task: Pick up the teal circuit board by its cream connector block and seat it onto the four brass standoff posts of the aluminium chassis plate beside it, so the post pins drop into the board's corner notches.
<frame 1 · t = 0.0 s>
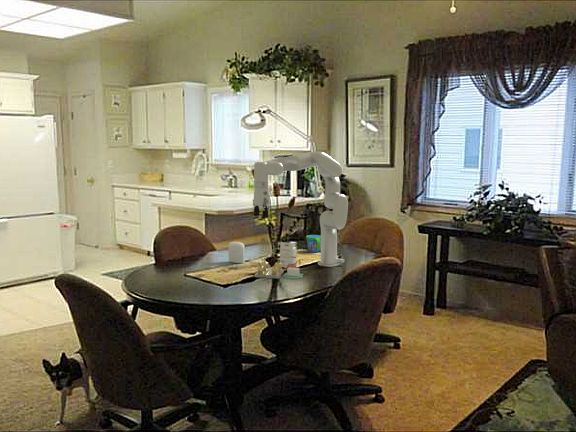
hand: (260, 216, 302), 31 cm above the table, tool pointing down, fingers open, 9 cm apart
ink cartridge box: (288, 267, 321), on the table
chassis: (269, 274, 304), on the table
snack cup: (313, 251, 367), on the table
circuit board: (293, 276, 302), on the table
photo printer: (236, 262, 332), on the table
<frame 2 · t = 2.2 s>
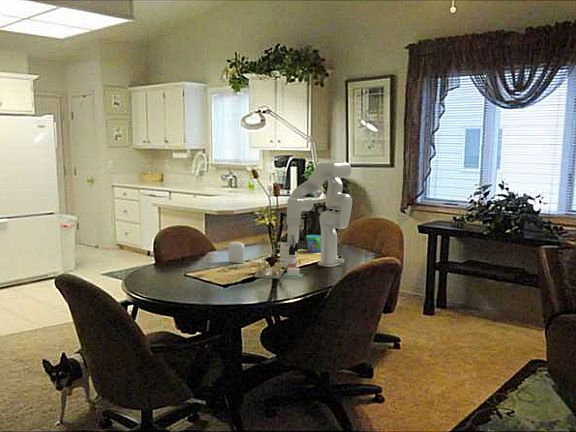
hand: (293, 253, 300), 12 cm above the table, tool pointing down, fingers open, 9 cm apart
nothing on the table moved.
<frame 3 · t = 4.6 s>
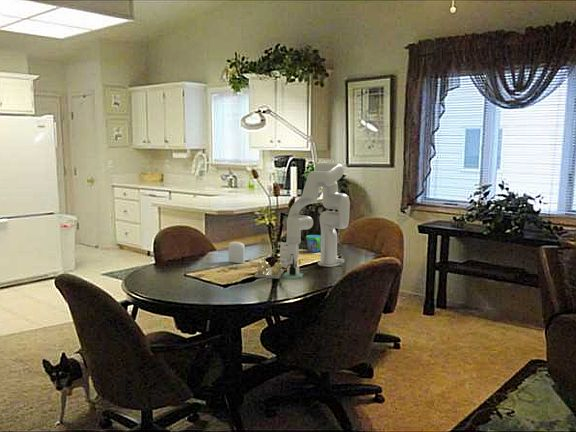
hand: (293, 273, 301), 1 cm above the table, tool pointing down, fingers closed on circuit board, 4 cm apart
circuit board: (293, 275, 302), on the table, touching gripper
everything else where it was.
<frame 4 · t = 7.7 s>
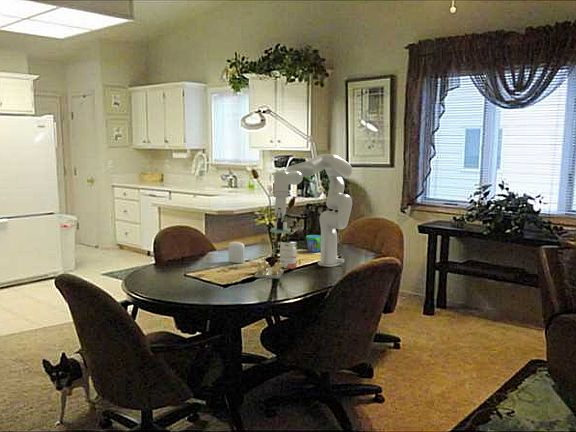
hand: (280, 228, 299), 26 cm above the table, tool pointing down, fingers closed on circuit board, 4 cm apart
circuit board: (280, 231, 299), point 24 cm above the table, touching gripper
everything else where it was.
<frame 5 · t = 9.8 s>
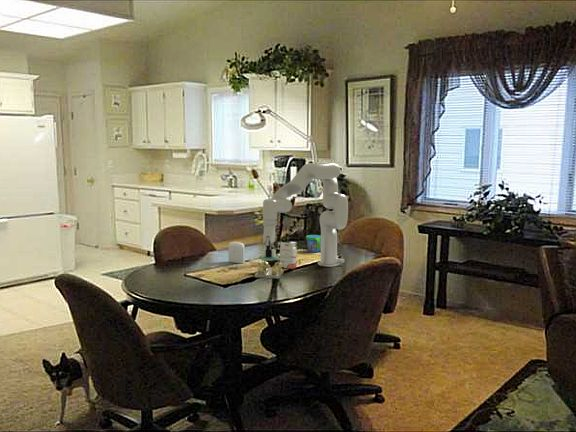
hand: (269, 255, 302), 11 cm above the table, tool pointing down, fingers closed on circuit board, 4 cm apart
circuit board: (269, 258, 302), point 9 cm above the table, touching gripper
everything else where it was.
when the fingers open (8 cm above the table, at t = 11.2 s): circuit board stays where it is, resting on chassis.
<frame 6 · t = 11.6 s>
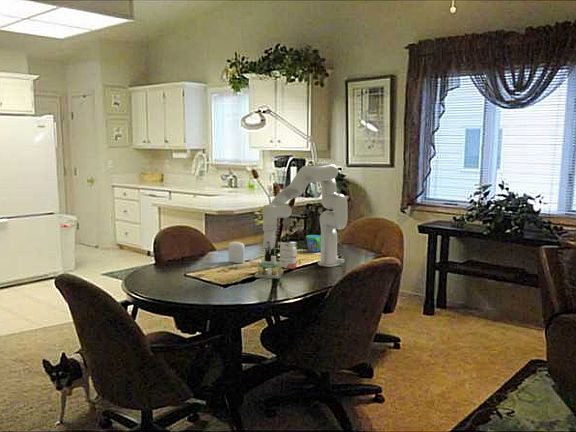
hand: (269, 259, 303), 8 cm above the table, tool pointing down, fingers open, 8 cm apart
circuit board: (269, 264, 303), point 5 cm above the table, touching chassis
everything else where it was.
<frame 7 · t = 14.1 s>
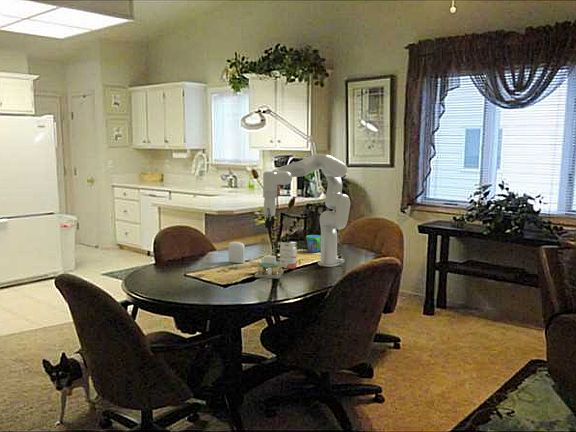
hand: (270, 226, 300), 26 cm above the table, tool pointing down, fingers open, 9 cm apart
nothing on the table moved.
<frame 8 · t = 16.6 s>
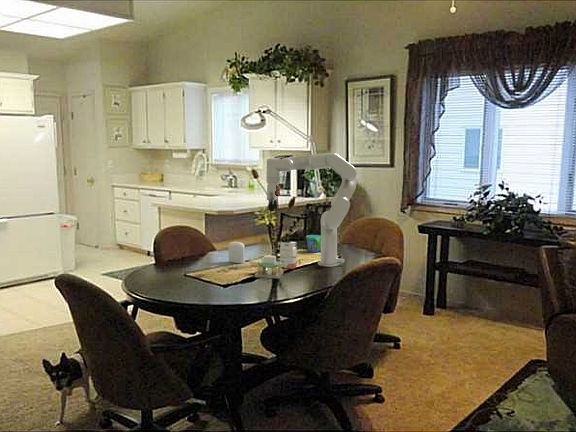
hand: (272, 209, 322), 32 cm above the table, tool pointing down, fingers open, 9 cm apart
nothing on the table moved.
at the end: circuit board 0.1 cm off-centre on the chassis, point 5.5 cm above the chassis's base; circuit board tilted 0°; the gripper is holding nothing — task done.
